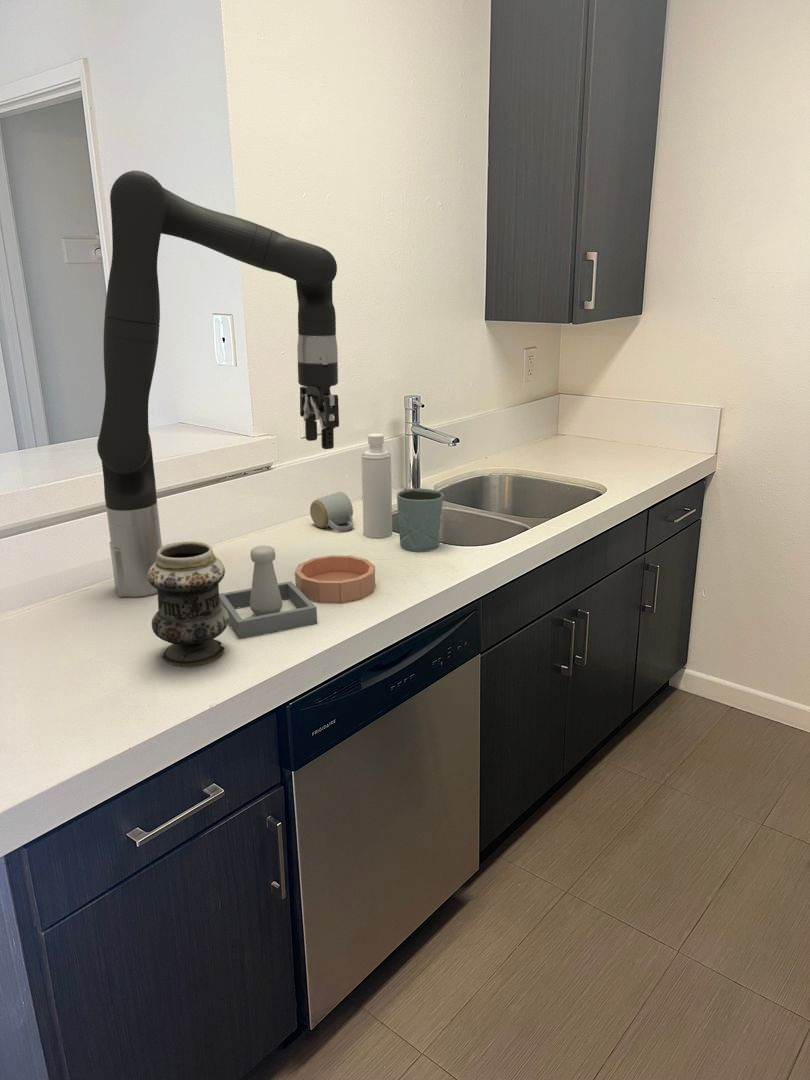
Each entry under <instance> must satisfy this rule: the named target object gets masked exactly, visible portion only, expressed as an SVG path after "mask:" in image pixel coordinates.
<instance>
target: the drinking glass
mask: <svg viewBox="0 0 810 1080" xmlns="http://www.w3.org/2000/svg"><path fill="white" fill-rule="evenodd" d="M396 500H397V501H396V502H397V503H396V505H397V513H398V527H399V546H400V548H401V549H402V550H404V551H407V552H412V553H425V552H431V550H432V551H434V550H437V548H439V544H440V543H439V541H440V530H441V521H442V520H441V519H442V518H441V515H442V511H443V501H444V494H443V492H442V491H439V490H436V489H431V488H408V489H403V490H400V491H398V492H397V493H396Z"/></svg>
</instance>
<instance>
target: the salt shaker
mask: <svg viewBox="0 0 810 1080" xmlns="http://www.w3.org/2000/svg"><path fill="white" fill-rule="evenodd" d="M250 559H251V561H252V563H253V572H252V581H251V587H250V588H251V597H250V606H249V607H250V610H251V611H252V613H253V614H254V617H256V616H261V615H266V614H272V613H277V612H281V610H282V608H283V600H282V599H281V595H280V591H279V587H278V583H279V582H278V580H277V579H278V578H277V575H276V574H277V573H276V571H275V567H274V561H275V560H276V551H275V548H274V547H272V546H270V545H258V546H255V547H253V548H252V549H251V550H250Z"/></svg>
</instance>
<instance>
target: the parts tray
mask: <svg viewBox="0 0 810 1080" xmlns="http://www.w3.org/2000/svg"><path fill="white" fill-rule="evenodd" d="M277 583H278V587H279V591H280V595H281V599H282V601H283V600H289V601H290V602H291V603H292V604H293V605H294V607H296V608H294V609H289V610H283V611H280V612H277V613H272V614H266V615H261V616H251V617H246V618H242V617H241V616H240V614H239V613H238V611H237V610H236V609H239V608H238V607H241V608H246V607H250V597H251V588H252V587H250V588H244V589H241V590H239V589H238V590H234V591H229V592H223V593H219V598H220V605H221V606H222V607H224V608H225V609H226V611H227V612H228V615H229V623H228V625H229V624H230V625H229V626H230V628H231V627H232V628H231V629H232V630H234V631H233V632H234V633H235V635H236V636H237V638H238V639H239V638H240V639H244V638H249V637H255V636H260V635H264V634H269V633H273V632H279V631H283V630H290V629H293V628H294V629H295V628H299V627H300V628H301V627H304V626H310V625H315V624H318V611H317V610H318V609H317V606H316V605H315V604H314V603H313V601H311V600H309V599H308V598H307V597H306V596H305V595H304V594H303V593H302V592H301V591H300V590H299V589H298V588H297V587H296V584H294V583H293V581H291V580H290V581H286V582H277ZM234 608H235V609H234Z"/></svg>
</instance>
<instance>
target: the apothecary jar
mask: <svg viewBox="0 0 810 1080" xmlns="http://www.w3.org/2000/svg"><path fill="white" fill-rule="evenodd" d="M225 574H226V567H225V564H224V563H223V561H221V560H220V558H218V557H217V556H215V553H214V551H213V548H212V546H211V545H210V544H208V543H206V542H203V541H198V540H197V541H196V540H195V541H193V540H187V541H186V540H185V541H176V542H172V543H168V544H165V545H162V547H161V548H160V549H159V550H158V552H157V560H156V562H155V563H154V564H153V565H152V566H151V567H150V569H149V571H148V580H149V582H150V584H151V585H152V586H153V587H154V588H156V589H157V593H156V594H157V603H158V604H157V605H158V609H157V612H156V613H155V614H154V615H153V616H152V619H151V630H152V632H153V634H154V635H155V636H156V637H157V638H159V639H161V640H162V641H164V642H166V643H170V644H171V645H169V646H167V647H166V648H165V649H164V650H163V652H162V659H163V661H164V662H165V663H167V664H169V665H172V666H174V667H184V668H185V667H196V666H198V667H199V666H203V665H206V664H209V663H213V662H214V661H217V660H218V659H220V658H221V657H222V656H223V655H224V654H225V650H226V648H225V647H224V646H223V644H222V642H221V641H219V640H217V639H215V638H217V637H219V636H220V635H221V634H223V632H224V631H225V630H226V629H227V627H228V626H229V615H228V612H227V611H226V609H225V608H224V607H222V606H221V605H220V598H219V594H220V589H219V588H220V587H219V583H221V582H222V580H223V579H224V578H225Z"/></svg>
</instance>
